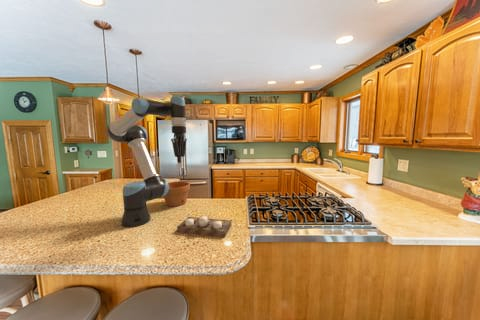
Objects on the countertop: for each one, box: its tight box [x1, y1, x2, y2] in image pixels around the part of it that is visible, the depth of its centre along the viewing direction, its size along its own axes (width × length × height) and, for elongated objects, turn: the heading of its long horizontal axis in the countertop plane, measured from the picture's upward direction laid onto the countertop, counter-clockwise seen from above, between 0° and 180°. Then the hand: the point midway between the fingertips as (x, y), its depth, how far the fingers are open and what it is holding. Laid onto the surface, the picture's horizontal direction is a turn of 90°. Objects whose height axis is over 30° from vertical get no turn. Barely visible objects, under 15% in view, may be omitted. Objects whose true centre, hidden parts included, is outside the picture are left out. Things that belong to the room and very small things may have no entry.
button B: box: [198, 215, 208, 227], centre depth 100 cm, size 4×4×4 cm
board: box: [176, 216, 232, 238], centre depth 103 cm, size 26×13×3 cm, turn 78°
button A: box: [184, 218, 194, 227], centre depth 102 cm, size 4×4×4 cm
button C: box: [213, 221, 222, 230], centre depth 99 cm, size 4×4×4 cm
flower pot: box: [163, 181, 191, 207], centre depth 144 cm, size 21×21×15 cm
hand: (180, 168), depth 107 cm, fingers closed
